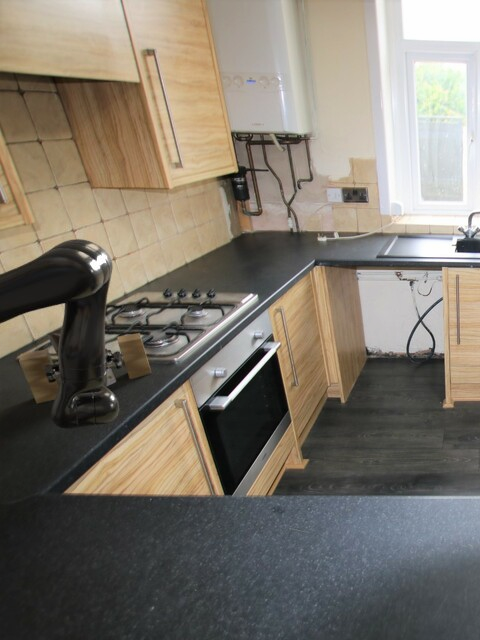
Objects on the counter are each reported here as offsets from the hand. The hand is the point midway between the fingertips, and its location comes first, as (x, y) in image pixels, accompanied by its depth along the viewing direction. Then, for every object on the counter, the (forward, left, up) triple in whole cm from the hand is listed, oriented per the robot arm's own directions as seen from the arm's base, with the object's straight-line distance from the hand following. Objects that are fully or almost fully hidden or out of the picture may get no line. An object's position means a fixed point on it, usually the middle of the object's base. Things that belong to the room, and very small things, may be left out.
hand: (84, 356), depth 121 cm
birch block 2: (+10, +4, -10) cm, 15 cm away
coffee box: (0, +5, -10) cm, 11 cm away
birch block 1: (-9, +4, -10) cm, 15 cm away
